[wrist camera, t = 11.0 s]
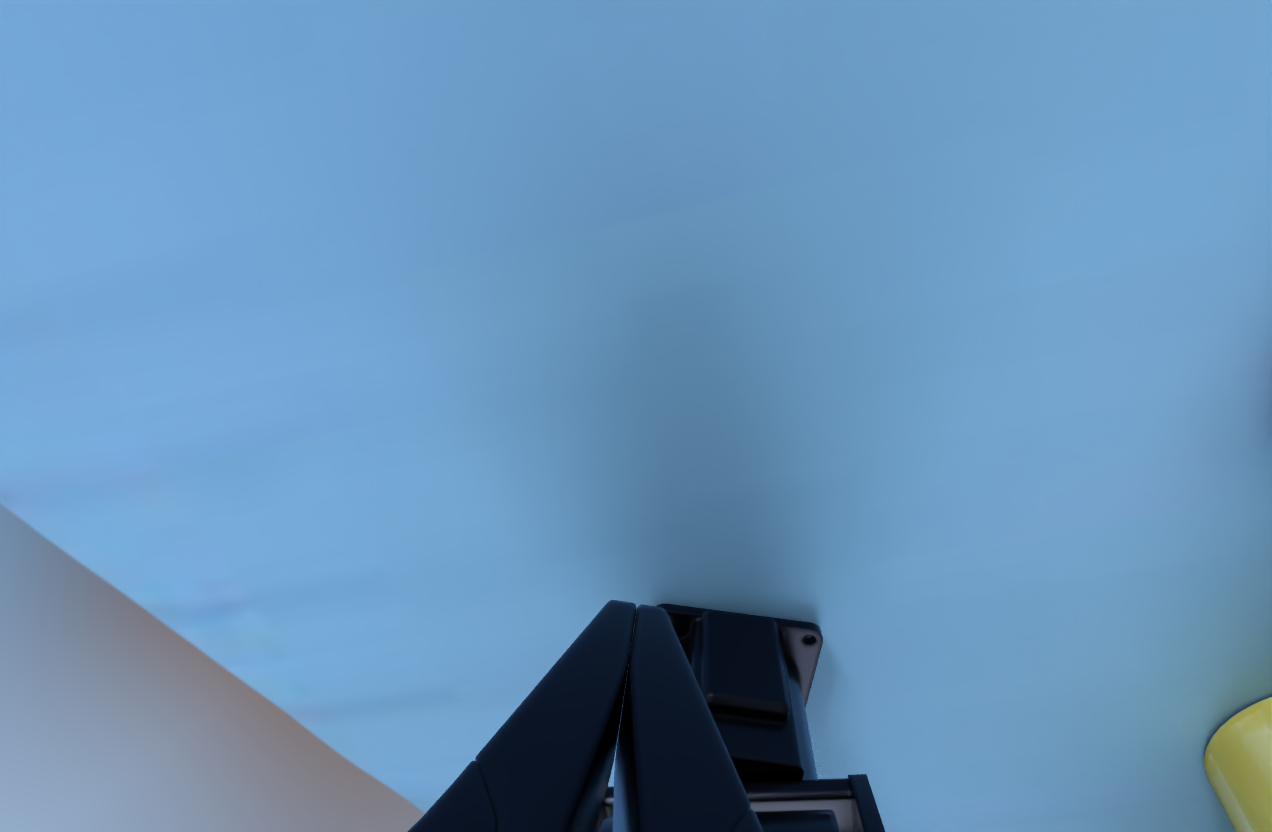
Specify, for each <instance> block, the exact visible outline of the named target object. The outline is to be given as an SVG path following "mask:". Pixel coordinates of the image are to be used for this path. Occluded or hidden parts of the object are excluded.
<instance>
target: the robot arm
mask: <svg viewBox="0 0 1272 832" xmlns="http://www.w3.org/2000/svg"><path fill="white" fill-rule="evenodd" d="M635 616H636V618H635ZM634 623H635V625H634ZM633 630H634V632H633ZM807 635H812V637H810V638H806V637H805V636H807ZM632 637H633V638H632ZM822 643H823V637H822V633H821V630H820V628H819V626H817V625H816V624H814V623H810V622H802V621H794V620H787V619H779V618H771V617H764V616H756V615H748V614H740V613H733V612H725V611H717V610H709V609H702V608H694V607H686V606H679V605H671V604H660V605H658V606H656V607H655V606H648V605H639V606H638V607H637V611H636V605H635V604H634V603H630V602H624V601H617V600H611V601H609V602H608V603H607V604H606V605H605V606H604V607H603V608H602V610H601V611H600V612H599V613H598V614H597V615H596V617H595V618H594V619H593V620H592V621H591V623H590V624H589V625H588V626H587V627H586V628H585V630H584V631H583V632H582V633H581V634H580V635H579V637H578V638H577V639H576V640H575V641H574V642H573V644H572V645H571V646H570V647H569V648H568V649H567V651H566V652H565V653H564V654H563V655H562V656H561V658H560V659H559V660H558V661H557V662H556V664H555V665H554V666H553V667H552V668H551V669H550V671H549V672H548V673H547V674H546V675H545V676H544V678H543V679H542V680H541V681H540V682H539V683H538V685H537V686H536V687H535V688H534V689H533V690H532V692H531V693H530V694H529V695H528V696H527V697H526V699H525V700H524V701H523V702H522V703H521V704H520V706H519V707H518V708H517V709H516V710H515V712H514V713H513V714H512V715H511V716H510V717H509V719H508V720H507V721H506V722H505V723H504V724H503V726H502V727H501V728H500V729H499V730H498V731H497V733H496V734H495V735H494V736H493V737H492V738H491V740H490V741H489V742H488V743H487V744H486V745H485V747H484V748H483V749H482V750H481V751H480V753H479V754H478V755H477V756H476V761H472V762H471V763H470V764H469V765H468V766H467V767H466V769H465V770H464V771H463V772H462V773H461V774H460V776H459V777H458V778H457V779H456V780H455V781H454V783H453V784H452V785H451V786H450V787H449V788H448V789H447V790H446V792H445V793H444V794H443V795H442V796H441V797H440V798H439V799H438V800H437V801H436V803H435V804H434V805H433V806H432V807H431V808H430V809H429V810H428V811H427V812H426V814H425V815H424V816H423V817H422V818H421V819H420V820H419V821H418V822H417V823H416V824H415V825H414V826H413V827H412V828H411V829H410V830H409V831H408V832H885V830H884V827H883V824H882V821H881V818H880V815H879V812H878V809H877V806H876V802H875V799H874V796H873V793H872V790H871V787H870V784H869V781H868V778H867V775H866V774H861V775H848V778H844V779H817V773H816V767H815V762H814V756H813V751H812V745H811V740H810V734H809V729H808V723H807V717H806V712H805V707H806V703H807V700H808V696H809V692H810V688H811V684H812V681H813V677H814V673H815V669H816V666H817V662H818V658H819V654H820V651H821V647H822ZM631 644H632V645H631ZM630 651H631V652H630ZM629 658H630V659H629ZM628 665H629V666H628ZM627 671H628V672H627ZM626 678H627V679H626ZM625 685H626V686H625ZM624 692H625V693H624ZM623 698H624V700H623ZM622 705H623V707H622ZM621 712H622V714H621ZM620 718H621V721H620ZM619 725H620V727H619ZM618 732H619V734H618ZM617 739H618V741H617ZM616 745H617V749H616ZM615 751H616V758H615V773H614V787H608V782H609V778H610V774H611V770H612V766H613V762H614V756H615Z"/></svg>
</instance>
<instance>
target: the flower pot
mask: <svg viewBox="0 0 1272 832" xmlns="http://www.w3.org/2000/svg"><path fill="white" fill-rule="evenodd" d="M1204 766H1205V772H1206V774H1207V777H1208V779H1209V781H1210V783H1211V785H1212V786H1213V788H1214V790H1215V792H1216V794H1217V796H1218V798H1219V800H1220V802H1221V804H1222V806H1223V807H1224V809H1225V811H1226V813H1227V815H1228V817H1229V819H1230V821H1231V823H1232V825H1233V827H1234V829H1235V831H1236V832H1272V697H1270V698H1267V699H1264V700H1261V701H1259V702H1257V703H1255V704H1253V705H1251V706H1249V707H1247V708H1245V709H1244V710H1242V711H1240V712H1239V713H1237V714H1236V715H1234V716H1233V717H1231V718H1230V719H1229V720H1228V721H1227V722H1225V723H1224V724H1223V725H1222V726H1221V727H1220V728H1219V729H1218V730H1217V732H1216V733H1215V734H1214V735H1213V737H1212V738H1211V740H1210V742H1209V744H1208V745H1207V748H1206V752H1205V756H1204Z"/></svg>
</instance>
